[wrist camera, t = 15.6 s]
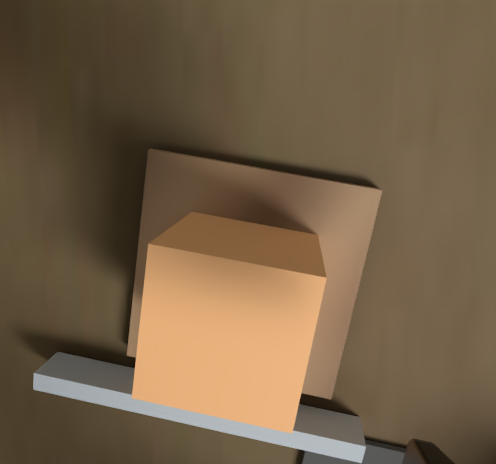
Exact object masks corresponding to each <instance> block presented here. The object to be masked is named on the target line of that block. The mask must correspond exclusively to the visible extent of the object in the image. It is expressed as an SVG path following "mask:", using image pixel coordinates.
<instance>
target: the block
mask: <svg viewBox="0 0 496 464" xmlns="http://www.w3.org/2000/svg"><path fill="white" fill-rule="evenodd" d="M326 279H327V277H326V272H325V267H324V262H323V257H322V252H321V248H320V243H319V238H318V235H316V234H310V233H305V232H299V231H294V230H289V229H283V228H278V227H272V226H267V225H261V224H256V223H251V222H245V221H240V220H234V219H229V218H223V217H218V216H213V215H207V214H202V213H196V212H191V213H190V214H188V215H187V216H185V217H184V218H183V219H181V220H180V221H179V222H177V223H176V224H175V225H173V226H172V227H170V228H169V229H168V230H166V231H165V232H164V233H162V234H161V235H159V236H158V237H157V238H155V239H154V240H153V241H151V242H150V243H148V251H147V260H146V269H145V279H144V288H143V297H142V307H141V316H140V325H139V334H138V344H137V353H136V362H135V372H134V381H133V390H132V398H133V399H137V400H142V401H146V402H151V403H156V404H160V405H165V406H169V407H174V408H178V409H183V410H187V411H192V412H196V413H201V414H205V415H210V416H215V417H219V418H224V419H228V420H233V421H237V422H242V423H246V424H251V425H255V426H260V427H265V428H269V429H274V430H278V431H283V432H287V433H293V429H294V424H295V420H296V415H297V410H298V406H299V401H300V397H301V392H302V388H303V383H304V379H305V374H306V370H307V365H308V361H309V356H310V352H311V347H312V342H313V338H314V333H315V329H316V324H317V320H318V315H319V311H320V306H321V302H322V297H323V293H324V288H325V284H326Z"/></svg>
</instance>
